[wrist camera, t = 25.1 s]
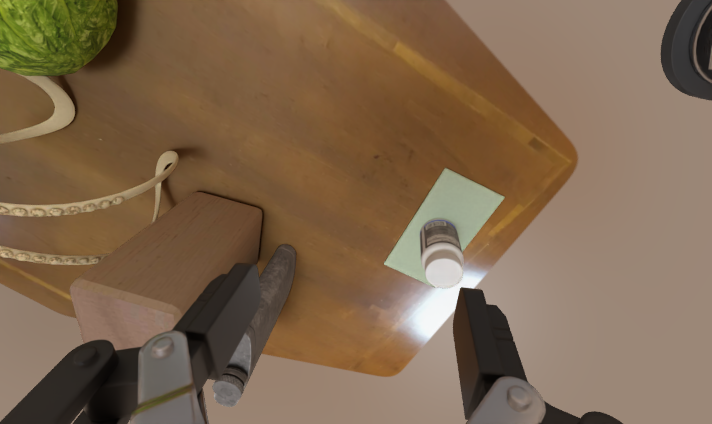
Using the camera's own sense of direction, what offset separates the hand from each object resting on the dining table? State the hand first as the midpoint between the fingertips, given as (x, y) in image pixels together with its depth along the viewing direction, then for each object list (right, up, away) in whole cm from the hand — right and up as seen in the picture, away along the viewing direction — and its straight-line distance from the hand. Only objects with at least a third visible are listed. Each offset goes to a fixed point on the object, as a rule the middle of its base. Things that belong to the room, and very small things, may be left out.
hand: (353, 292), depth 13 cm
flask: (-11, -7, +38) cm, 41 cm away
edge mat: (+11, +1, +30) cm, 32 cm away
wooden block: (-18, +1, +35) cm, 39 cm away
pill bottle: (+11, +1, +30) cm, 32 cm away
